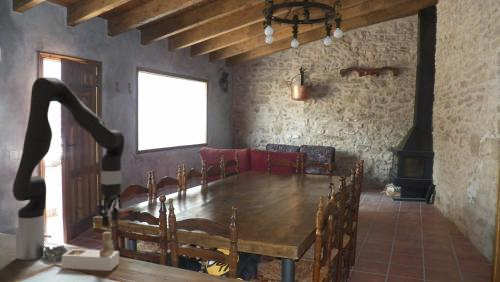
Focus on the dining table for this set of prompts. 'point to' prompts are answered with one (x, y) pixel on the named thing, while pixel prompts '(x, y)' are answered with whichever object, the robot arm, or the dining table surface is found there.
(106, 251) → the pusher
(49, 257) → the grey green rough clump
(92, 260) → the sweep board
